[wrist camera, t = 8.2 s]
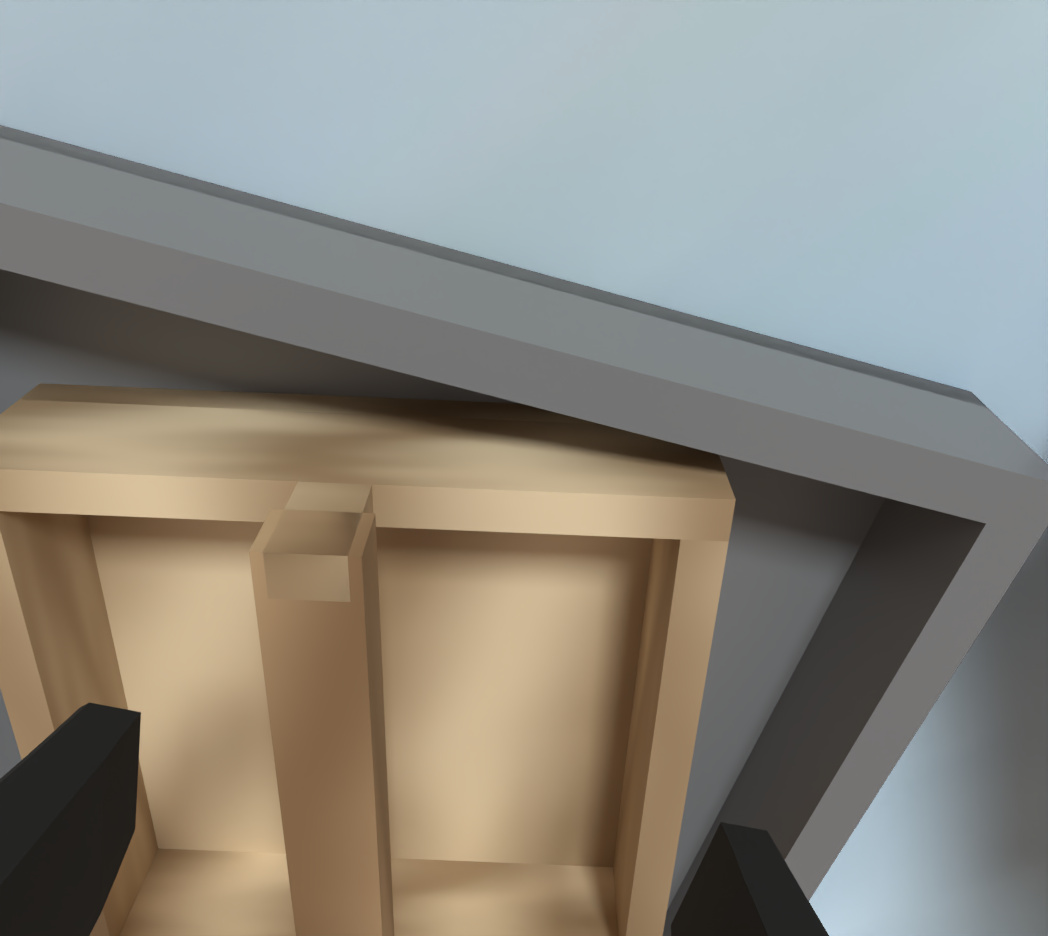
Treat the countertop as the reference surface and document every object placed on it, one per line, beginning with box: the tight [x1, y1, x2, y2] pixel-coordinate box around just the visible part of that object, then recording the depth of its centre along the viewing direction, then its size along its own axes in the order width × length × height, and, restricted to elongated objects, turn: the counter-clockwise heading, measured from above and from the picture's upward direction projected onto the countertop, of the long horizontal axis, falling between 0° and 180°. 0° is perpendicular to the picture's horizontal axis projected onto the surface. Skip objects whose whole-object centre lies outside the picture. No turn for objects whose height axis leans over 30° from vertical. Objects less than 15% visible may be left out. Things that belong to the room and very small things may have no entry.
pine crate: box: [0, 383, 736, 936], centre depth 18 cm, size 13×13×6 cm
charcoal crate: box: [0, 125, 1048, 936], centre depth 20 cm, size 20×20×4 cm
